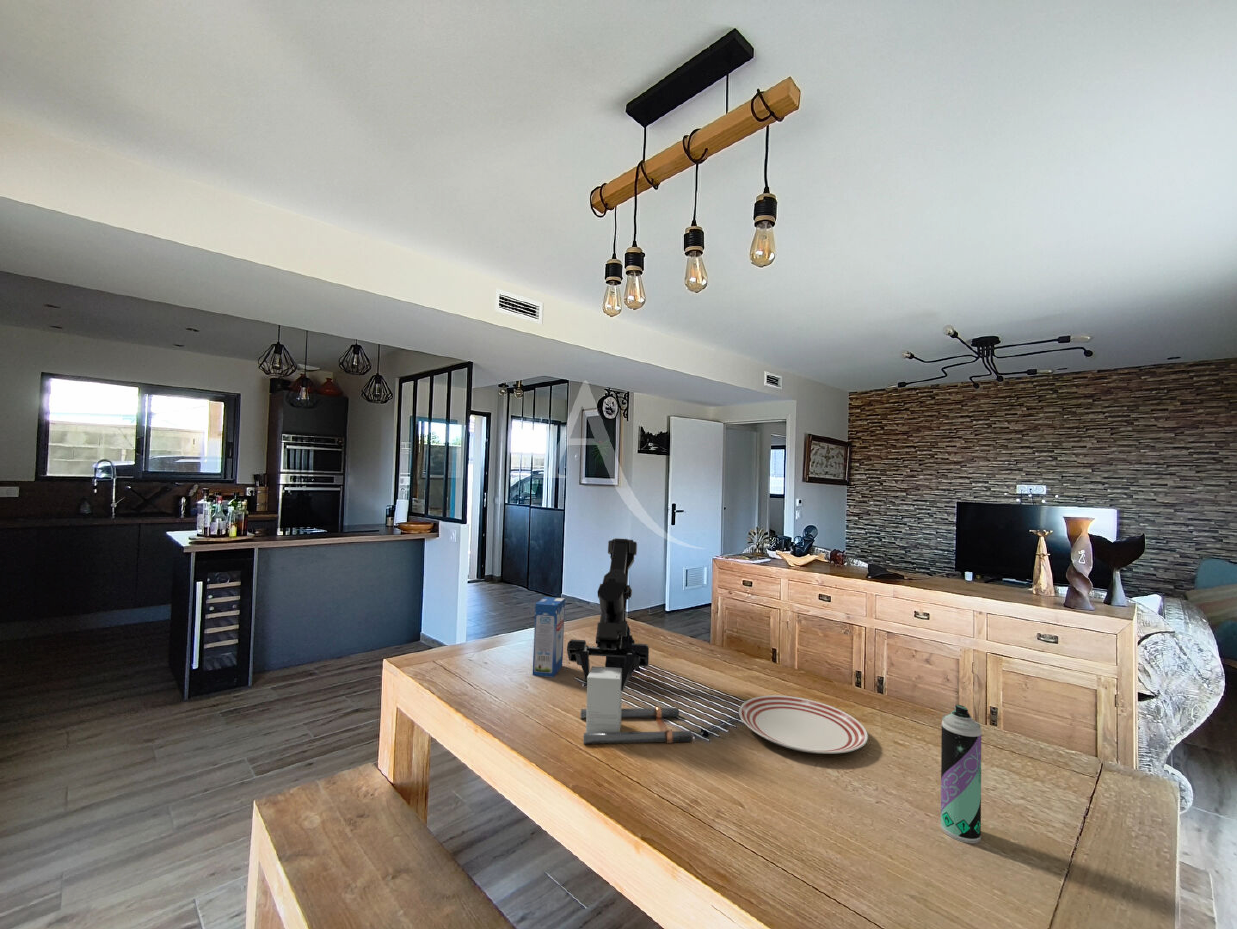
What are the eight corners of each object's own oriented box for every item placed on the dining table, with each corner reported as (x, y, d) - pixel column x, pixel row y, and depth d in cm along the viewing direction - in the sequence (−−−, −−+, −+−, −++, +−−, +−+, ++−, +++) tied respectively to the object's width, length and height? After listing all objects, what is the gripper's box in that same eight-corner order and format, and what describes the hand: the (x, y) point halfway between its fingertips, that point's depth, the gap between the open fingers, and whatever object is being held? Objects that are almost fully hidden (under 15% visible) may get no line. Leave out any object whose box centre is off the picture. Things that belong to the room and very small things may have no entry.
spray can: (932, 821, 88) (934, 699, 89) (963, 821, 89) (964, 699, 90) (956, 843, 83) (957, 713, 84) (989, 843, 83) (990, 713, 84)
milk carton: (542, 663, 159) (545, 596, 160) (562, 665, 158) (565, 598, 159) (532, 675, 149) (535, 603, 150) (553, 677, 148) (556, 605, 149)
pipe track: (583, 747, 110) (584, 734, 110) (580, 717, 124) (581, 705, 124) (692, 745, 112) (692, 732, 112) (676, 715, 127) (676, 704, 127)
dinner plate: (884, 735, 120) (885, 720, 120) (839, 781, 100) (839, 763, 100) (772, 699, 139) (772, 686, 139) (715, 731, 119) (715, 716, 119)
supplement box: (621, 723, 121) (623, 667, 121) (618, 738, 113) (620, 678, 114) (589, 721, 121) (591, 665, 122) (584, 736, 114) (586, 676, 115)
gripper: (570, 604, 123) (558, 668, 112) (650, 609, 122) (647, 674, 110) (574, 629, 131) (564, 692, 119) (649, 634, 129) (646, 698, 118)
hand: (604, 688), depth 116 cm, fingers closed on supplement box, 7 cm apart
